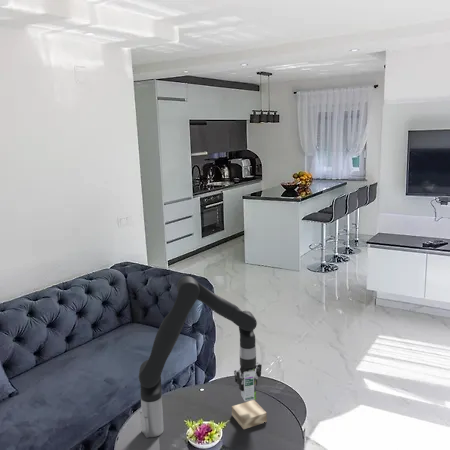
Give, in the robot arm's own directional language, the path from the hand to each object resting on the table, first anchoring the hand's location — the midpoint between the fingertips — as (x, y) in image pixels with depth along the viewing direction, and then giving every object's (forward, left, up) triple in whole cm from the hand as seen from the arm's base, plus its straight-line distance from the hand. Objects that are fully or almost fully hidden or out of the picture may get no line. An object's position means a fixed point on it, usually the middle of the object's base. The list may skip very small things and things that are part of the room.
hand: (248, 388), depth 212 cm
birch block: (0, 0, -16) cm, 16 cm away
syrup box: (0, 0, -5) cm, 5 cm away
